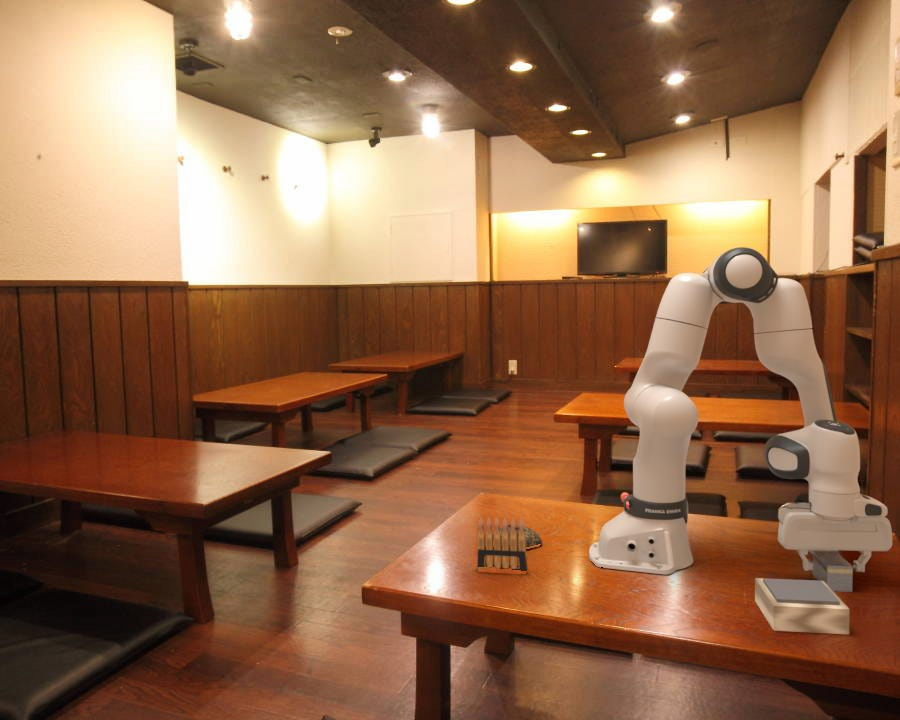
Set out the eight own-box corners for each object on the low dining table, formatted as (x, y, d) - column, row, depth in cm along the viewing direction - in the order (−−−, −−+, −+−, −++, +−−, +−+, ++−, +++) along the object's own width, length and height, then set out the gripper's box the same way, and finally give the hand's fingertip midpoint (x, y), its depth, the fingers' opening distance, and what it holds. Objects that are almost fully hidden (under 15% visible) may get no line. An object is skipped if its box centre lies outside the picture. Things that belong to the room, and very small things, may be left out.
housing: (827, 591, 132) (827, 565, 131) (812, 575, 140) (812, 550, 139) (852, 592, 131) (852, 566, 131) (836, 576, 139) (836, 551, 138)
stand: (773, 630, 117) (773, 602, 116) (754, 600, 128) (755, 575, 128) (849, 634, 115) (849, 605, 114) (823, 603, 126) (823, 577, 126)
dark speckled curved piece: (548, 548, 160) (548, 528, 159) (501, 557, 155) (501, 536, 155) (522, 532, 172) (522, 513, 171) (478, 540, 167) (477, 520, 167)
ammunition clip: (477, 572, 146) (475, 518, 145) (478, 569, 148) (477, 515, 147) (526, 575, 144) (525, 520, 143) (527, 571, 146) (526, 517, 145)
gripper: (783, 507, 133) (783, 575, 134) (896, 508, 130) (895, 578, 131) (773, 497, 139) (773, 563, 140) (881, 498, 136) (880, 565, 137)
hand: (833, 570), depth 135 cm, fingers open, 8 cm apart
